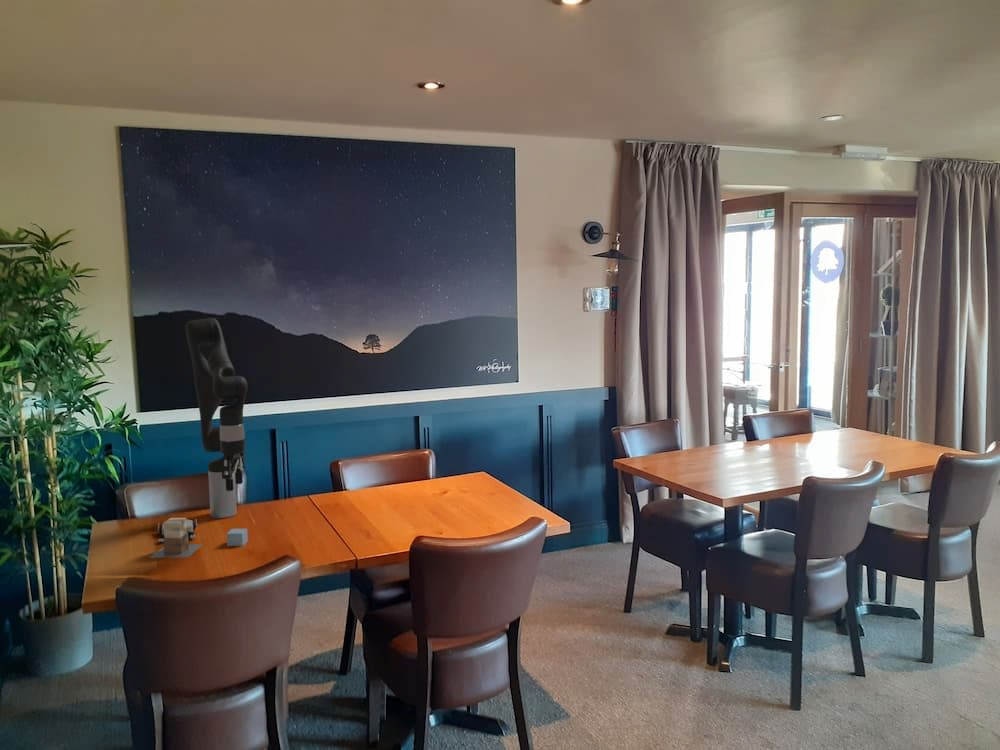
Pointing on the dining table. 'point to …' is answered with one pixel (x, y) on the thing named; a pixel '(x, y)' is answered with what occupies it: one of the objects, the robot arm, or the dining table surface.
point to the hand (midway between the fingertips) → (234, 487)
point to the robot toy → (190, 528)
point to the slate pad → (185, 554)
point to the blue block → (237, 537)
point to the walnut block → (176, 545)
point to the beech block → (175, 528)
